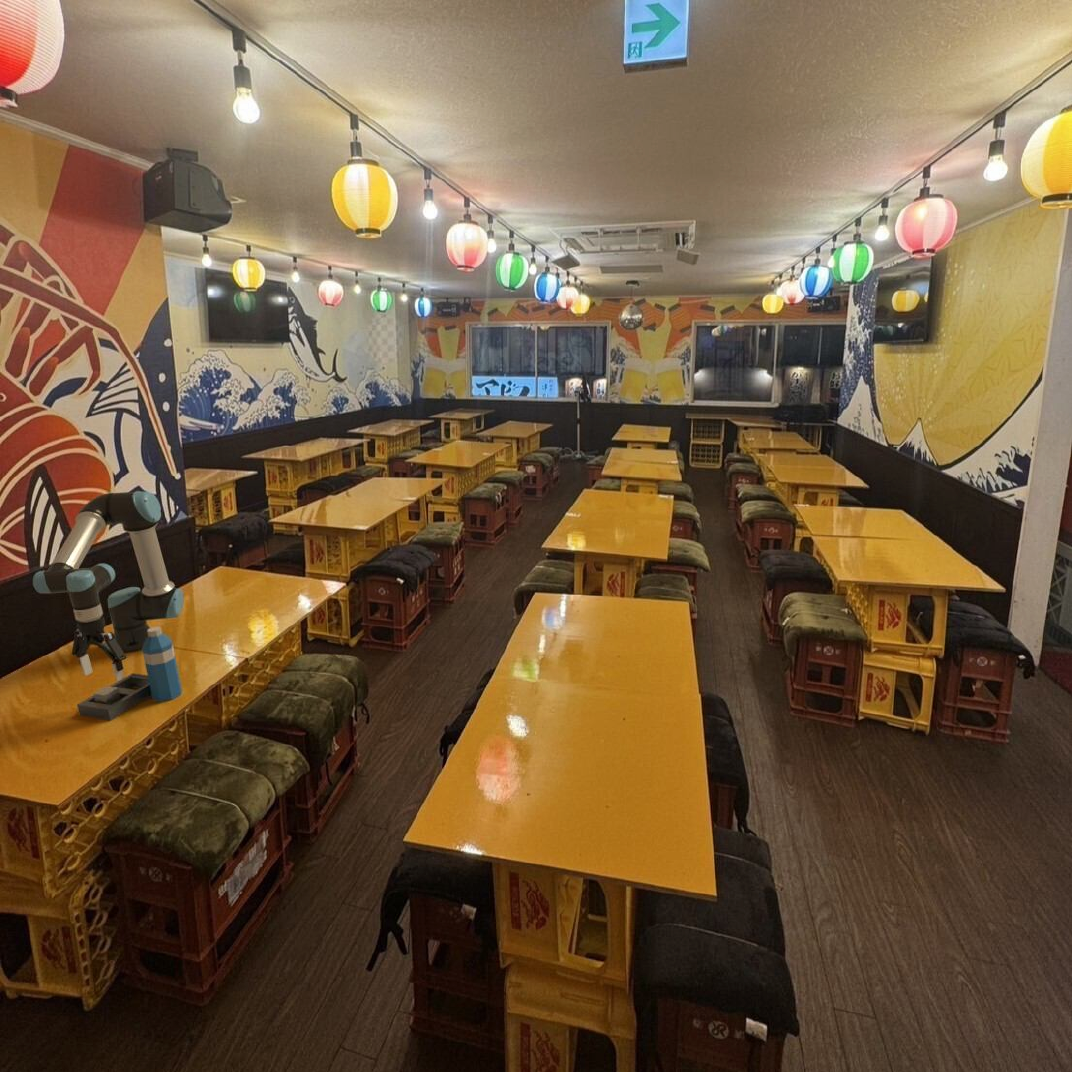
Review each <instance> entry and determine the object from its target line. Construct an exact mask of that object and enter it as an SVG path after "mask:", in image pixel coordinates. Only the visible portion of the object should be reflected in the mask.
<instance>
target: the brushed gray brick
mask: <svg viewBox="0 0 1072 1072" xmlns="http://www.w3.org/2000/svg"><path fill="white" fill-rule="evenodd" d="M110 686H111V685H110ZM110 686H108V685H106V686H104V687H102V688H100V689H99V690H97V691H95V692H93V695H94V698H95V702H96V703H101V704H107V705H112V704H114V703H116V702H117V701H119V700H121V698H120V693H119V689H118V688H117V687H110Z"/></svg>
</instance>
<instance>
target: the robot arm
mask: <svg viewBox="0 0 1072 1072" xmlns="http://www.w3.org/2000/svg"><path fill="white" fill-rule="evenodd" d="M161 511H162V507H161V504H160V501H159V500H158V498H157V496H156V495H155V494H153V493H152V492H149V491H141V490H140V491H139V490H138V491H126V492H125V491H124V492H109V493H104V494H101V495H97V496H96V497H94V498H93V499H91V500H89V501H88V502H87V503H86V504H85V505H84V506H83V507H82V508H81V509H80V510H79V511H78V513H77V515H76V516H75V519H74V521H75V525H74V526H73V527H72V529H71V531H70V533H69V534H68V536H67V538H66V540H65V541H64V542H63V544H62V546H61V547H60V550H59V551H58V552H57V554H56V556H55V557H54V559H53V561H52V563H51V565H50V566H49V568H48V569H47V570H45V569H43V570H40V571H37V572H35V574H34V575H33V577H32V586H33V588H34V589H35V591H36V592H37V593H39V594H59V593H62V594H63V593H68V595H69V600H70V602H71V605H72V606H71V607H72V609H73V613H74V618H75V620H76V621H75V622H76V627H77V629H76V630H74V631H73V637H74V638H73V644H72V650H71V654H72V655H73V656H76V657H77V658H78V661H79V665H80V666H81V667H80V668H81V669H82V674H83V676H85V677H87V676H88V675H90V674H92V673H93V672H94V671H93V668H92V663H91V661H90V657H89V654H88V651H89V649H90V646H94V647H95V646H97V647H98V648H99V649H101V650H102V651H103V652H104V653H105V654H106V655H107V656H108V658H110V660H111V661H112V662H111V667H112V671H113V675H114V678H115V681H116V682H118V681H120V680H122V679H124V678H125V672H124V666H123V660H125V659H127V655H126V654H125V653H131V652H136V651H140V650H142V647H143V644H144V643H145V641H146V639H147V637H148V632H147V631H148V629H150V628H151V627H150V626H149V624H148V622H147V621H151V620H152V621H155V620H169V619H175V618H178V617H179V616H180V615H181V613H182V611H183V607H184V604H185V603H184V601H185V600H184V599H185V598H184V591H183V590H182V589H181V588H176V585H175V583H174V582H173V581H171V580H170V579H169V576H168V571H167V568H166V565H165V562H164V558H163V554H162V551H161V546H160V542H159V539H158V536H157V535H158V534H157V532H156V527H157V526H158V523H159V522H158V521H160V519H161V517H162V512H161ZM109 525H121V526H122V528H123V531H124V532H126V533H129V536H130V540H131V543H132V546H133V547H132V548H133V550H134V554H135V557H136V560H137V564H138V567H139V570H140V574H141V577H142V580H143V585H144V587H143V588H142V589H141V588H140V587H137V586H130V587H125V588H124V589H120V590H117V591H115V592H113V593H111V594H110V595H109V596H108V598H107V605H108V606H107V608H108V611H109V614H110V618H111V619H110V621H111V624H112V627H113V632H112V631H110V632H105V628H106V621H105V616H104V615H103V614H104V611H103V607H102V604H101V603H102V602H101V601H100V596H99V593H100V592H102V591H103V590H105V589H106V588H107V587H108V586H110V585H111V584H112V583H113V581H114V580H115V579H116V571H115V569H114V568H113V567H112V565H109V564H107V563H98V564H95V565H93V566H92V567H81V568H80V566H81V564H82V563H83V561H84V559H85V558H86V555H87V554H88V553H89V550H90V548H91V547H92V545H93V543H94V541H95V540H96V538H97V536H98V535H99V533H101V532H102V531H104V529H106V527H107V526H109Z"/></svg>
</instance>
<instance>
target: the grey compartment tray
mask: <svg viewBox="0 0 1072 1072" xmlns="http://www.w3.org/2000/svg"><path fill="white" fill-rule="evenodd" d="M110 687H117V688H118V689H119V693H120V698H121V700H119V701H117V702H116V703H114V704H112V705H107V704H101V703H96V702H95V698H94V694H93V695H92V696H90V697H88V698H86V699H85V700H83V701H81V702H80V703H77V704H76V705H77V709H78V714H79V716H81V717H88V718H94V719H99V720H104V721H112V720H114V719H115V718H117V717H119V716H121V715H122V714H124V713H125V712H127V711H129V710H131V709H132V708H134V707H135V706H137V705H139V704H140V703H141V702H143V701H145V700H146V699H148V698H150V697H152V693H151V689H150V684H149V679H148V675H147V674H140V673H134V672H133V673H131V674H129V675H128V676H124V678H122V679H120V680H119V681H116V682H115V683H114V684H111V685H110ZM132 688H135V689H132Z"/></svg>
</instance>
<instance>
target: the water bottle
mask: <svg viewBox="0 0 1072 1072" xmlns="http://www.w3.org/2000/svg"><path fill="white" fill-rule="evenodd" d="M147 632H148V637H147V639H146V641H145V643H144V644H143V647H142V649H141V652H142V656H143V659H144V665H145V669H146V675H148V679H149V684H150V689H151V693H152V695H151V697H152V701H154V702H158V703H163V702H167V701H172V700H175V699H176V698H178V697H180V696H182V693H183V689H182V683H181V679H180V678H181V677H180V674H179V669H178V665H177V658H176V653H175V649H174V644H173V640H172V639H171V638H170V637H169V636H167V634H165V633H163V632H162V627H160V626H154V627H150V629H148V631H147Z"/></svg>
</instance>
